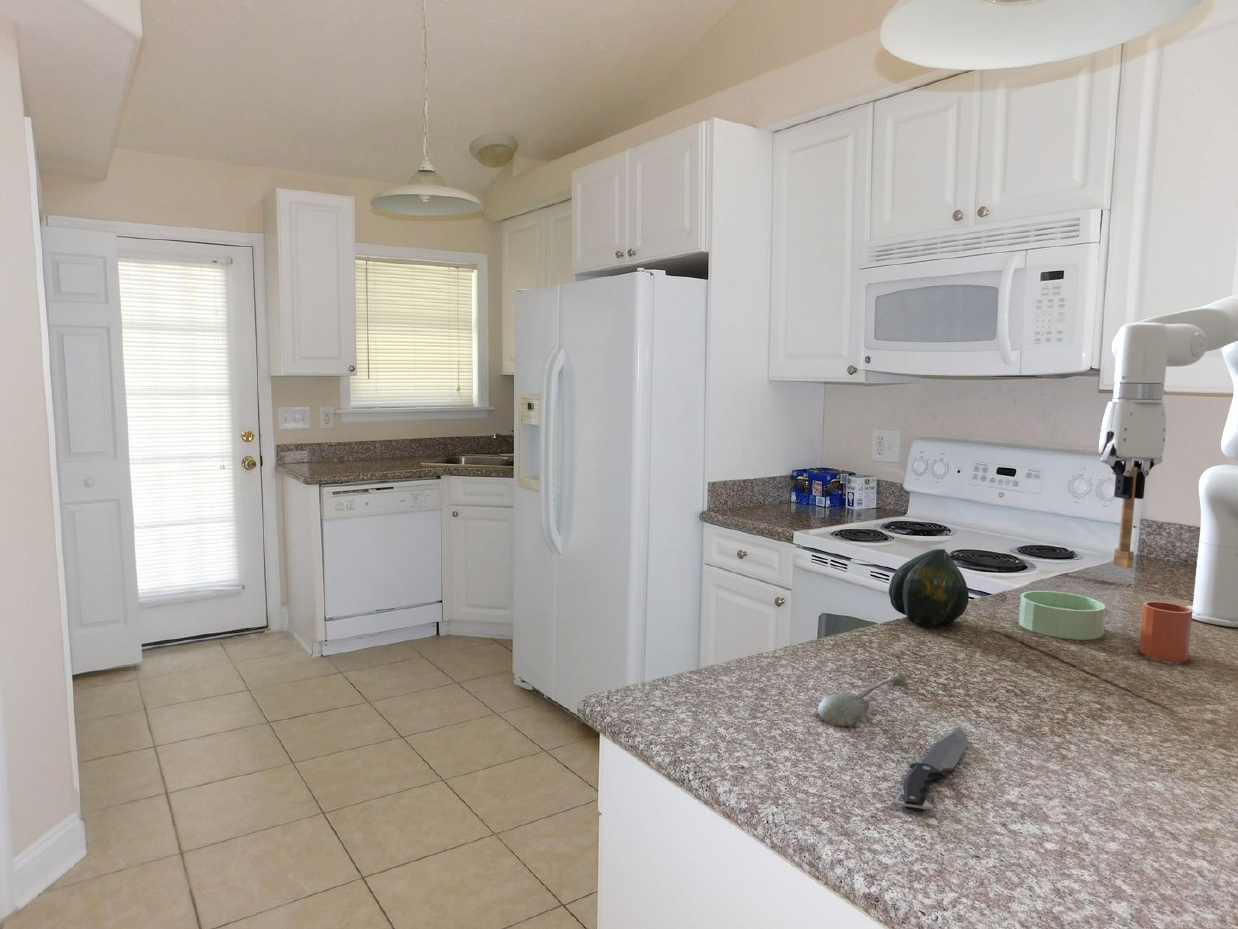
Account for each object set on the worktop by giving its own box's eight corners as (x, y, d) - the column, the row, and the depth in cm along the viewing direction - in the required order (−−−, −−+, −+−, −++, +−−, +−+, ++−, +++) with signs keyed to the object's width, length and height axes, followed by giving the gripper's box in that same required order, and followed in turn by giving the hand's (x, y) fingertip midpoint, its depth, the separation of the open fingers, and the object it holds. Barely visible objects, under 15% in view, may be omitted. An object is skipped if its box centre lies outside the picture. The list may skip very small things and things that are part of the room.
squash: (872, 596, 156) (931, 543, 151) (878, 582, 170) (932, 533, 165) (927, 652, 152) (990, 600, 148) (929, 633, 166) (986, 585, 162)
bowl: (1063, 618, 163) (1066, 589, 163) (1121, 641, 149) (1124, 609, 149) (1002, 621, 160) (1004, 592, 159) (1055, 644, 146) (1057, 612, 146)
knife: (986, 736, 106) (947, 726, 109) (987, 729, 106) (947, 719, 109) (927, 819, 86) (880, 803, 89) (928, 810, 86) (881, 795, 89)
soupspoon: (807, 721, 112) (851, 738, 108) (809, 698, 111) (853, 715, 107) (881, 676, 128) (921, 689, 123) (883, 656, 127) (923, 668, 123)
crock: (1162, 649, 145) (1166, 600, 144) (1197, 663, 138) (1202, 611, 137) (1129, 651, 143) (1133, 602, 142) (1163, 665, 137) (1168, 613, 136)
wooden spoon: (1111, 564, 146) (1120, 465, 145) (1119, 564, 147) (1128, 465, 145) (1125, 568, 144) (1134, 467, 142) (1133, 568, 144) (1143, 467, 142)
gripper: (1155, 394, 148) (1146, 494, 149) (1083, 392, 144) (1074, 495, 146) (1193, 395, 140) (1183, 500, 142) (1118, 393, 137) (1109, 501, 139)
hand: (1128, 497), depth 144 cm, fingers closed on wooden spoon, 1 cm apart
